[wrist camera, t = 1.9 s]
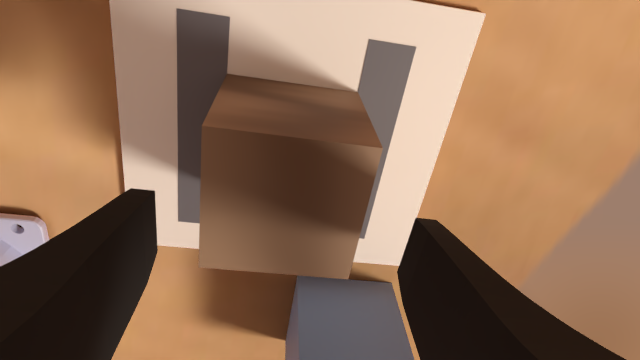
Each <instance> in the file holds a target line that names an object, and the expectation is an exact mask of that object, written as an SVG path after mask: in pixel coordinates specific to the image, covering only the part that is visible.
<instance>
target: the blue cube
mask: <svg viewBox="0 0 640 360" xmlns="http://www.w3.org/2000/svg"><path fill="white" fill-rule="evenodd" d="M285 360H414V357H413V354H412V351H411V347H410V344H409V340H408V337H407V334H406V330H405V327H404V324H403V320H402V317H401V313H400V310H399V307H398V303H397V300H396V297H395V293H394V290H393V286H392V283H387V282H375V281H362V280H349V279H336V278H324V277H311V276H298V275H297V281H296V286H295V292H294V297H293V303H292V308H291V314H290V319H289V325H288V330H287V336H286V353H285Z"/></svg>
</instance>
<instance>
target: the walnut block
mask: <svg viewBox="0 0 640 360" xmlns="http://www.w3.org/2000/svg"><path fill="white" fill-rule="evenodd" d="M382 150H383V147H382V145H381V143H380V140H379V138H378V136H377V134H376V131H375V129H374V127H373V125H372V123H371V120H370V118H369V116H368V114H367V111H366V109H365V107H364V105H363V102H362V100H361V98H360V96H359V94H358V92H353V91H346V90H339V89H332V88H325V87H318V86H310V85H303V84H296V83H289V82H282V81H275V80H268V79H261V78H254V77H247V76H240V75H233V74H227V75H226V77H225V79H224V81H223V83H222V85H221V87H220V89H219V91H218V93H217V95H216V97H215V99H214V102H213V104H212V106H211V108H210V110H209V112H208V114H207V116H206V118H205V120H204V122H203V124H202V138H201V182H200V226H199V268H211V269H224V270H237V271H249V272H262V273H275V274H288V275H300V276H313V277H326V278H338V279H349V275H350V271H351V268H352V264H353V260H354V256H355V252H356V249H357V245H358V241H359V237H360V233H361V230H362V226H363V222H364V218H365V215H366V211H367V207H368V203H369V199H370V196H371V192H372V188H373V184H374V180H375V177H376V173H377V169H378V165H379V161H380V158H381V154H382Z"/></svg>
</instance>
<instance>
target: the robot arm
mask: <svg viewBox="0 0 640 360" xmlns="http://www.w3.org/2000/svg"><path fill="white" fill-rule="evenodd" d="M17 224H18V225H21V226H22V227H23V228H20V227H19V226H18V225H17ZM156 254H157V227H156V203H155V191H153V190H143V189H134V188H131V189H129V190H127V191H126V192H124V193H122V194H121V195H119V196H118V197H116V198H115V199H113V200H112V201H111V202H109V203H108V204H106V205H105V206H103V207H102V208H100V209H99V210H97V211H96V212H94V213H93V214H91V215H89V216H88V217H86V218H85V219H83V220H82V221H80V222H79V223H77V224H76V225H74V226H72V227H71V228H69V229H68V230H66V231H64V232H62V233H61V234H59V235H57V236H56V237H54V238H52V239H50V240H49V237H48V232H47V227H46V224H45V223H44V222H43V221H42V220H41V219H40V218H38V217H34V216H26V215H15V214H4V213H0V360H111V359H112V356H113V354H114V352H115V350H116V348H117V346H118V344H119V342H120V340H121V338H122V336H123V333H124V331H125V329H126V327H127V325H128V323H129V321H130V319H131V317H132V315H133V313H134V311H135V308H136V306H137V304H138V302H139V300H140V298H141V296H142V294H143V291H144V289H145V287H146V285H147V282H148V279H149V276H150V273H151V270H152V267H153V264H154V261H155V257H156ZM397 273H398V279H399V286H400V292H401V297H402V302H403V306H404V309H405V313H406V316H407V319H408V322H409V326H410V329H411V332H412V335H413V338H414V341H415V344H416V348H417V351H418V354H419V357H420V360H626V359H624V358H622V357H620V356H619V355H617V354H615V353H613V352H611V351H610V350H608V349H606V348H604V347H603V346H601V345H599V344H598V343H596V342H594V341H593V340H591V339H589V338H587V337H586V336H584V335H583V334H581V333H579V332H578V331H576V330H574V329H573V328H571V327H570V326H568V325H567V324H565V323H564V322H562V321H560V320H559V319H557V318H556V317H555V316H553V315H551V314H550V313H549V312H547V311H546V310H544V309H543V308H542V307H540V306H539V305H537V304H536V303H534V302H533V301H532V300H530V299H529V298H528V297H526V296H525V295H524V294H522V293H521V292H520V291H519V290H517V289H516V288H515V287H514V286H512V285H511V284H510V283H509V282H507V281H506V280H505V279H504V278H502V277H501V276H500V275H499V274H498V273H496V272H495V271H494V270H493V269H492V268H490V267H489V266H488V265H487V264H486V263H485V262H484V261H482V260H481V259H480V258H479V257H478V256H477V255H476V254H475V253H473V252H472V251H471V250H470V249H469V248H468V247H467V246H466V245H464V244H463V243H462V242H461V241H460V240H459V239H458V238H457V237H456V236H454V235H453V234H452V233H451V232H450V231H449V230H448V229H446V228H445V227H444V226H443V225H442V224H440V223H439V222H438V221H437V220H431V219H422V218H415V221H414V224H413V227H412V230H411V233H410V236H409V239H408V242H407V245H406V248H405V250H404V253H403V256H402V259H401V262H400V265H399V268H398V271H397Z"/></svg>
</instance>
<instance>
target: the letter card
mask: <svg viewBox="0 0 640 360" xmlns="http://www.w3.org/2000/svg"><path fill="white" fill-rule="evenodd" d="M109 3H110V15H111V28H112V40H113V52H114V64H115V76H116V88H117V100H118V112H119V124H120V136H121V148H122V160H123V172H124V184H125V192H126V191H127V190H129V189H131V188H134V189H143V190H153V191H155V203H156V227H157V245H160V246H172V247H184V248H195V249H199V226H200V182H201V138H202V124H203V122H204V120H205V118H206V116H207V114H208V112H209V110H210V108H211V106H212V104H213V102H214V99H215V97H216V95H217V93H218V91H219V89H220V87H221V85H222V83H223V81H224V79H225V77H226V75H227V74H233V75H240V76H247V77H254V78H261V79H268V80H275V81H282V82H289V83H296V84H303V85H310V86H318V87H325V88H332V89H339V90H346V91H353V92H358V94H359V96H360V98H361V100H362V102H363V105H364V107H365V109H366V111H367V114H368V116H369V118H370V120H371V123H372V125H373V127H374V129H375V131H376V134H377V136H378V138H379V140H380V143H381V145H382V147H383V150H382V154H381V158H380V161H379V165H378V169H377V173H376V177H375V180H374V184H373V188H372V192H371V196H370V199H369V203H368V207H367V211H366V215H365V218H364V222H363V226H362V230H361V233H360V237H359V241H358V245H357V249H356V252H355V256H354V260H353V262H361V263H372V264H384V265H396V266H399V265H400V262H401V259H402V256H403V253H404V250H405V248H406V245H407V242H408V239H409V236H410V233H411V230H412V227H413V224H414V221H415V218H417V215H418V212H419V209H420V206H421V203H422V201H423V198H424V195H425V192H426V189H427V186H428V183H429V180H430V177H431V174H432V171H433V168H434V165H435V162H436V159H437V156H438V153H439V151H440V148H441V145H442V142H443V139H444V136H445V133H446V130H447V127H448V124H449V121H450V118H451V115H452V112H453V109H454V106H455V103H456V100H457V98H458V95H459V92H460V89H461V86H462V83H463V80H464V77H465V74H466V71H467V68H468V65H469V62H470V59H471V56H472V53H473V50H474V48H475V45H476V42H477V39H478V36H479V33H480V30H481V27H482V24H483V21H484V18H485V15H486V14H485V13H483V12H477V11H471V10H466V9H460V8H454V7H449V6H443V5H437V4H432V3H426V2H420V1H415V0H109Z"/></svg>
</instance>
